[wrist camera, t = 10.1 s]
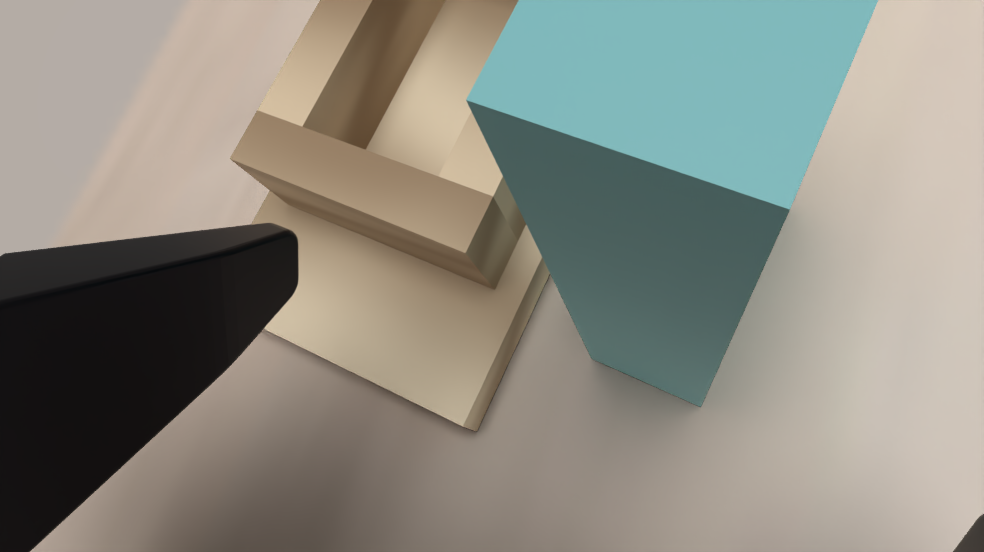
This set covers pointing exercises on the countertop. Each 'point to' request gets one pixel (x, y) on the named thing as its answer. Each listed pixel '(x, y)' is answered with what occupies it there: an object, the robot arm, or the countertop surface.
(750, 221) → the teal panel
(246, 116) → the countertop surface
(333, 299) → the rack
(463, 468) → the countertop surface
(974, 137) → the countertop surface
